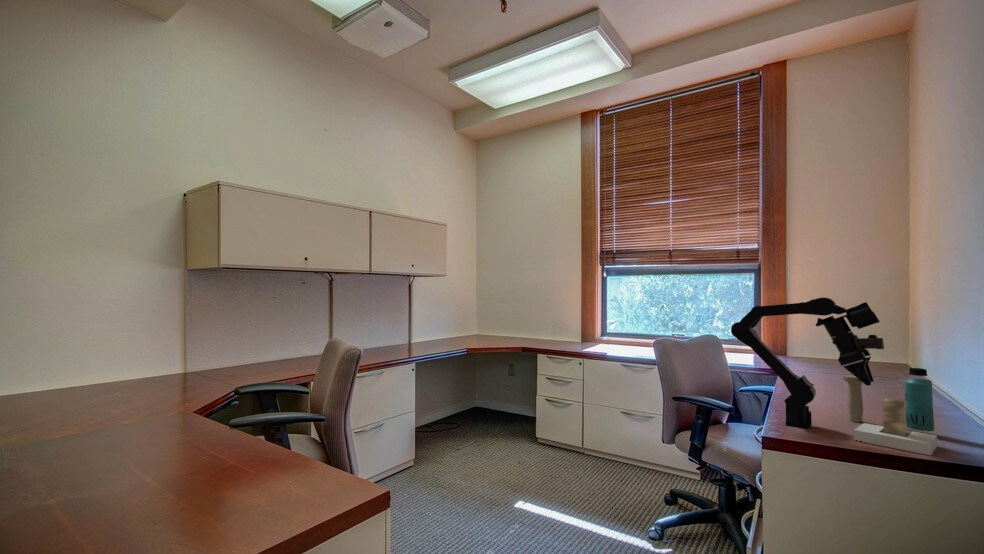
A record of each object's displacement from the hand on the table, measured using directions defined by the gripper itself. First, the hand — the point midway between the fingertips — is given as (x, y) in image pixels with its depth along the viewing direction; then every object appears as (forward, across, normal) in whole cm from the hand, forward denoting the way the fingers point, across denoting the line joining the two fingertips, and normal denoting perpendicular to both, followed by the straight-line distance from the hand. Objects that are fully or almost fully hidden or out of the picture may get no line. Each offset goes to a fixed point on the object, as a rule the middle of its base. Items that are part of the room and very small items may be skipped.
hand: (870, 383), depth 133 cm
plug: (+17, -2, +2) cm, 17 cm away
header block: (+17, -2, +2) cm, 17 cm away
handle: (+12, +20, +12) cm, 26 cm away
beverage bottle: (+19, +17, -3) cm, 25 cm away
